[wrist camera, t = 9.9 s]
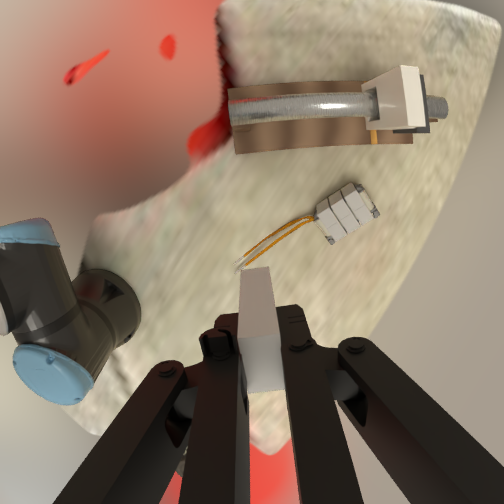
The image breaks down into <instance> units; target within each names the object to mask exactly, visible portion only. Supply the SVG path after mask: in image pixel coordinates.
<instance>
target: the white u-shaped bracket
mask: <svg viewBox="0 0 504 504" xmlns="http://www.w3.org/2000/svg"><path fill="white" fill-rule="evenodd" d="M361 88H362V92H369V93H377V97H378V105H379V114H380V117H365V120H366V130H397V129H413V128H415V127H425V126H426V123H425V113H424V104H423V96H422V89H421V82H420V75H419V69H418V67H414V66H404V65H400V66H398V67H396V68H394V69H392V70H390V71H387V72H385V73H383V74H382V75H380V76H378V77H376V78H374V79H372V80H370V81H368V82H366V83H364V84H362V85H361Z"/></svg>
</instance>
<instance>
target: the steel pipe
mask: <svg viewBox="0 0 504 504" xmlns="http://www.w3.org/2000/svg"><path fill="white" fill-rule="evenodd" d="M426 98H427V106H428V115H429V118H432V119H445V118H446V117H447V115H448V104H447V101H446V100H445V98H443V97H437V96H426ZM228 109H229V117H230V123H231V126H236V125H244V124H253V123H262V122H273V121H284V120H297V119H313V118H334V117H380V114H379V105H378V97H377V93H369V92H336V93H307V94H290V95H277V96H265V97H255V98H246V99H238V100H230V101H228Z"/></svg>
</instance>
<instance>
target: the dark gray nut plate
mask: <svg viewBox="0 0 504 504" xmlns="http://www.w3.org/2000/svg"><path fill="white" fill-rule="evenodd" d="M419 75H420V74H419ZM420 82H421V89H422V96H423V104H424V113H425V123H426V126H425V127H415V128H413V129H397V130H393V134H407V133H430V125H429V115H428V106H427V98H426V90H425V83H424V77H423V75H420Z"/></svg>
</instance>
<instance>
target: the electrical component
mask: <svg viewBox="0 0 504 504" xmlns="http://www.w3.org/2000/svg"><path fill="white" fill-rule="evenodd" d="M341 191H342V193H341V192H340V190H339V191H337V192H335V193H334V194H332V195H331V196H329V197H328V198H329V200H328V199H327V198H326V199H325V200H323V201H322V202H320V203H319V204H317V205H316V208H317V210H316V211H315V213H314V215H313V216H314V217H313V216H307V217H303V218H300V219H297V220H294V221H291V222H290V223H288V224H286V225H285V226H283V227H282V228H280V229H278V230H277V231H278V232H279V231H281V230H283V229H285V228H287V227H289V226H291V225H293V224H295V223H296V222H298V221H300V220H302V219H305V218H307V219H309V220H307V221H305V222H302V223H300V224H298V225H297V226H295V227H294V228H293V229H291V230H290V231H288V232H287V233H285V234H284V235H282V236H281V237H279V238H278V239H277V240H275V241H274V242H273V243H271V244H270V245H269V246H268V247H266V248H265V249H264V250H262V251H261V252H260V253H259V254H257V255H256V256H255V257H254V258H252V259H251V260H250V261H249V262H247V263H246V264H245V265H244V266H243V267H241V268H240V269H239V270H238V271H236V272H235V274H236V273H237V272H239V271H240V270H242V269H243V268H244V267H246V266H247V265H248V264H250V263H251V262H252V261H254V260H255V259H256V258H258V257H259V256H260V255H262V254H263V253H264V252H265V251H267V250H268V249H269V248H271V247H272V246H273V245H275V244H276V243H277V242H279V241H280V240H281V239H283V238H284V237H286V236H287V235H289V234H290V233H292V232H293V231H295V230H296V229H298V228H299V227H301V226H302V225H304V224H306V223H308V222H311V221H314V222H315V224H316V225H317V226H318V227H319V228H320V229H321V231H322V232H323V233H324V234H325V235H326V236H325V237H326V239H327V240H328V241H329V243H330V244H331V245H333V244H334V243H335V242H337V241H338V240H340V239H341V238H343V237H345V236H346V235H347V232H348V233H349V234H350V233H351V232H353V231H354V230H356V229H358V228H359V227H361V226H360V223H361V225H364V224H366V223H367V222H369V221H370V220H372V219H374V218H377V217H378V216H379V215H380V213H379V212H378V210H377V208H376V206H375V205H374V203H373V202H371V200H370V199H369V197H368V195H367V194H366V192H365V189H364V188H363V186H362V185H361V184H360V185H353V183H352V182H351V183H349V184H348V185H346V186H345V187H343V188H341ZM342 194H343V195H342ZM371 213H373V215H372V214H371ZM373 216H374V217H373ZM359 221H360V223H359ZM346 230H347V231H346ZM277 231H275V232H274V233H275V234H276V233H278V232H277ZM274 233H272V234H270V235H269V236H267V237H266V238H265V239H268V237H269V238H270V237H271V235H272V236H273V235H274ZM265 239H263V240H262V241H265ZM262 241H261V242H260V243H258V244H257V245H260V244H261V243H262ZM257 245H256V246H254V247H253V248H252V249H251V250H249V251H248V252H247V253H246V254H244V255H243V256H242V257H241V258H240V259H239V260H237V261H236V262H235V263H234V264H233V265H235V264H236V263H237V262H239V261H240V260H241V259H242V258H243V257H245V256H247V255H248V254H249V253H250V252H251V251H252V250H254V249H255V248H256V247H257Z"/></svg>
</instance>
